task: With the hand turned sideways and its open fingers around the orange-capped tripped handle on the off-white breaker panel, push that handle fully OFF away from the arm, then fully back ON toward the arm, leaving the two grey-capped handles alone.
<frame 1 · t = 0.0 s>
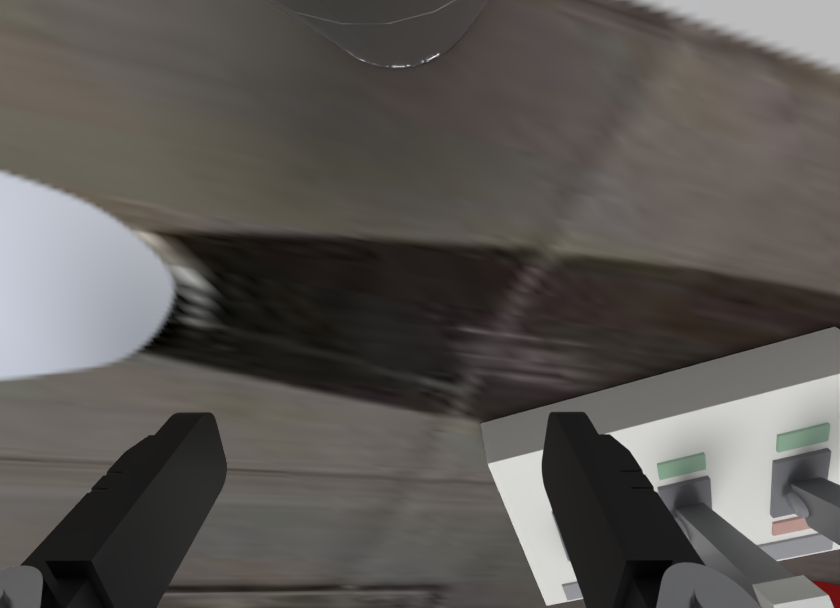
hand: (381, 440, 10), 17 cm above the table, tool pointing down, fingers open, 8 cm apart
panel: (657, 465, 35), on the table
breaker mid: (738, 565, 24), point 10 cm above the table, hinge at -34.0°
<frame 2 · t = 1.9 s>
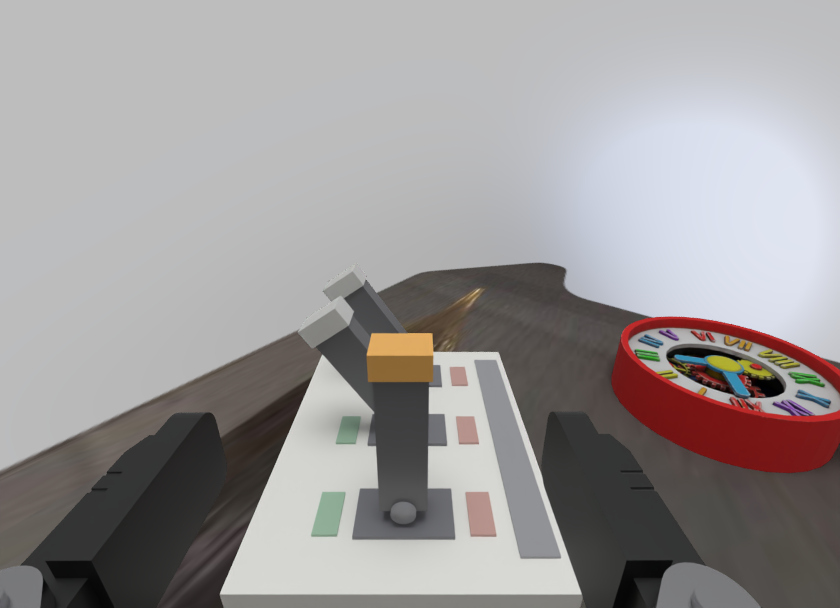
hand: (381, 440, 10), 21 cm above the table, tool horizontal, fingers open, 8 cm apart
panel: (408, 466, 35), on the table
toy clock: (709, 404, 44), on the table
breaker mid: (369, 371, 32), point 10 cm above the table, hinge at -34.0°
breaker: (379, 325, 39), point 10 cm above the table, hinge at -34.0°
breaker tripped: (402, 433, 24), point 11 cm above the table, hinge at 0.0°
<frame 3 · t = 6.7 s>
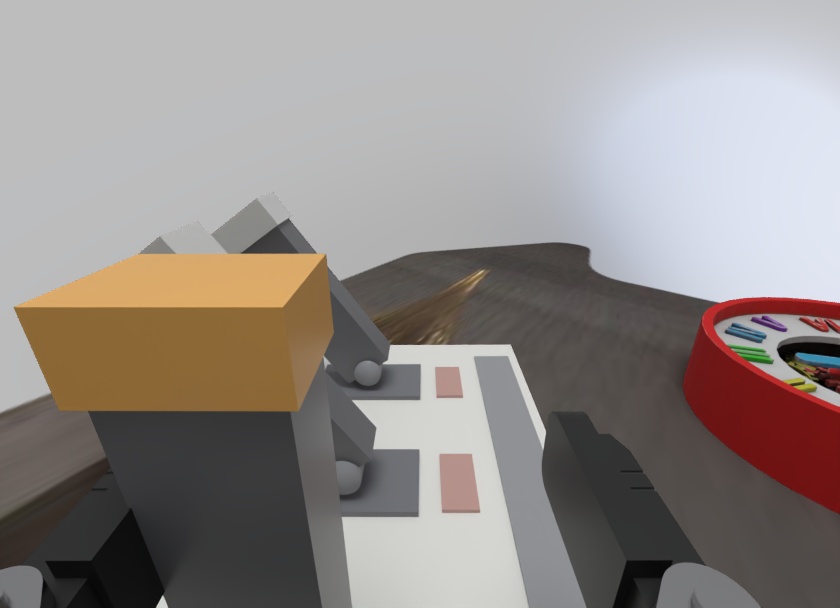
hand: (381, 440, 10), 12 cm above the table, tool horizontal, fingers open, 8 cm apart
panel: (356, 541, 20), on the table
breaker mid: (265, 374, 16), point 10 cm above the table, hinge at -34.0°
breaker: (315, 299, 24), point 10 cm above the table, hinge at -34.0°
breaker tripped: (261, 546, 9), point 11 cm above the table, hinge at 0.3°, touching gripper
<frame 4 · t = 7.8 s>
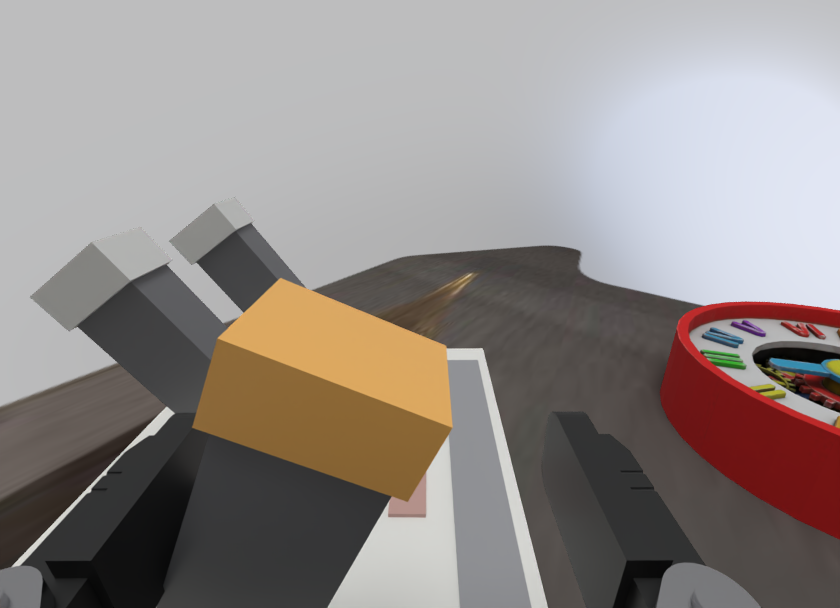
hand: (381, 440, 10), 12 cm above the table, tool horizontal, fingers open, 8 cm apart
panel: (311, 545, 20), on the table
toy clock: (827, 440, 27), on the table
breaker mid: (210, 378, 16), point 10 cm above the table, hinge at -34.0°
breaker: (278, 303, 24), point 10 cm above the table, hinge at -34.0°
breaker tripped: (257, 566, 9), point 10 cm above the table, hinge at 25.1°, touching gripper
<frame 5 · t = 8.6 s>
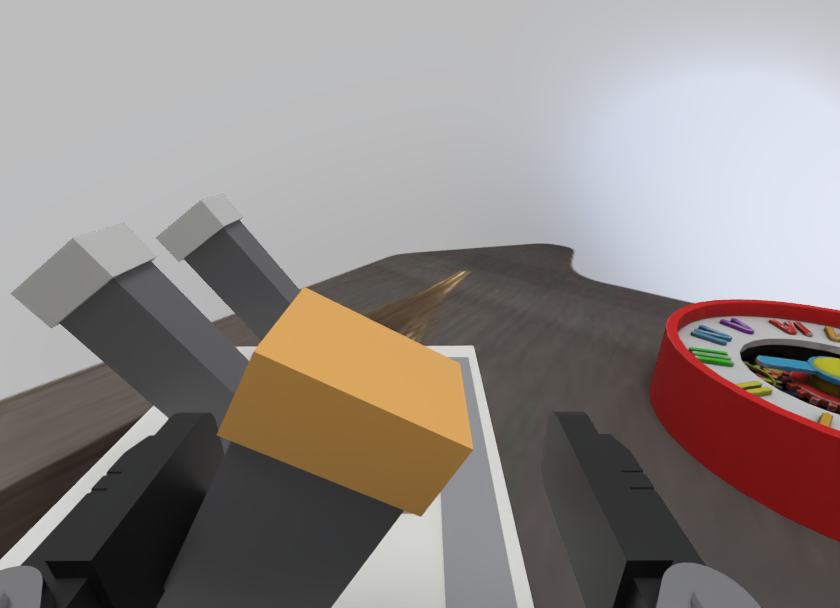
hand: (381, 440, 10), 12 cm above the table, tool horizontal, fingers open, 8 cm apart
panel: (300, 542, 20), on the table
toy clock: (813, 436, 27), on the table
breaker mid: (196, 375, 16), point 10 cm above the table, hinge at -34.0°
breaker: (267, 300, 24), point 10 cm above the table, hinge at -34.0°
breaker tripped: (254, 568, 9), point 10 cm above the table, hinge at 29.4°, touching gripper
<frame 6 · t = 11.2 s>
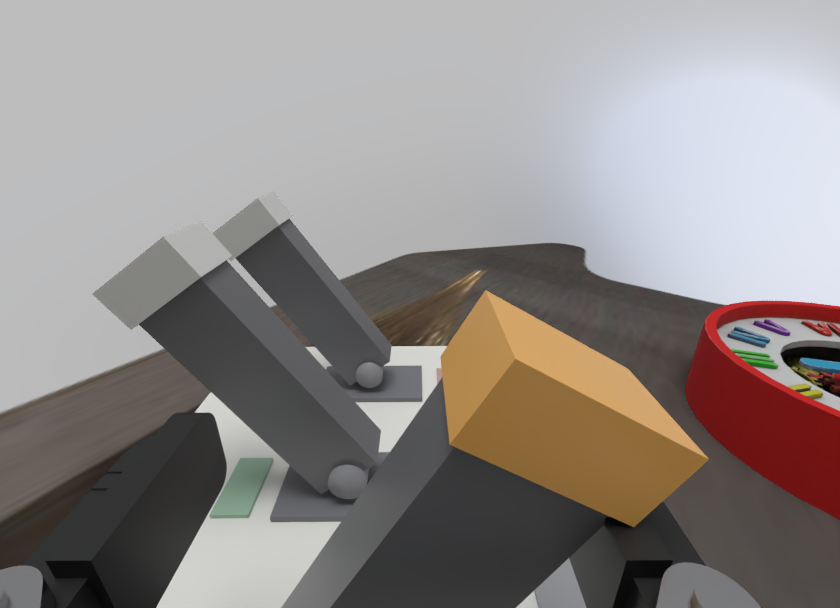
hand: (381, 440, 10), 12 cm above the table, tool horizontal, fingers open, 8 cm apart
panel: (359, 545, 20), on the table
breaker mid: (269, 377, 16), point 10 cm above the table, hinge at -34.0°
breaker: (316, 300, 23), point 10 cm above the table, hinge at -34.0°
breaker tripped: (403, 577, 9), point 10 cm above the table, hinge at 30.0°, touching gripper
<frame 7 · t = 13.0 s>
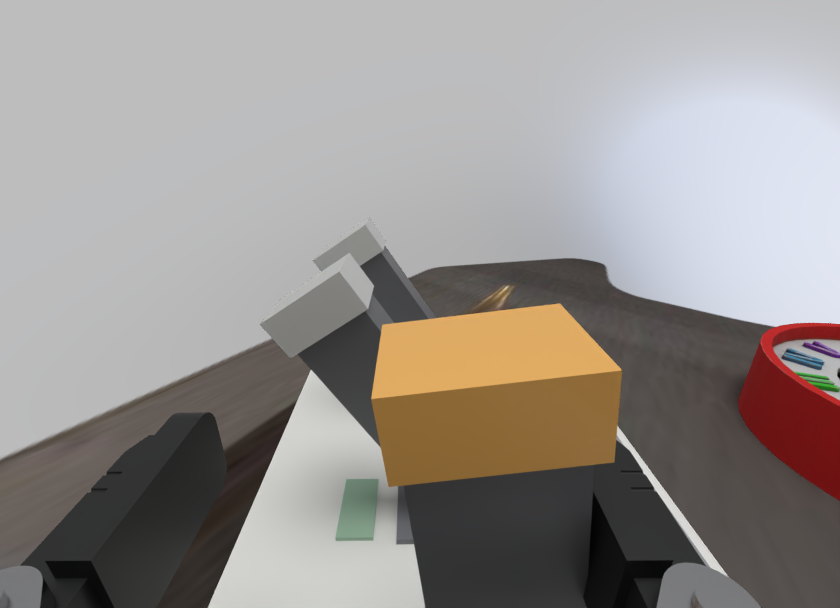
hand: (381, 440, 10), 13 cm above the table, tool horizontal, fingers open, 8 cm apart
panel: (461, 566, 20), on the table
breaker mid: (402, 402, 16), point 10 cm above the table, hinge at -34.0°
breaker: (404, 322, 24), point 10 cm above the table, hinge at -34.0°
breaker tripped: (497, 588, 9), point 11 cm above the table, hinge at -7.5°, touching gripper
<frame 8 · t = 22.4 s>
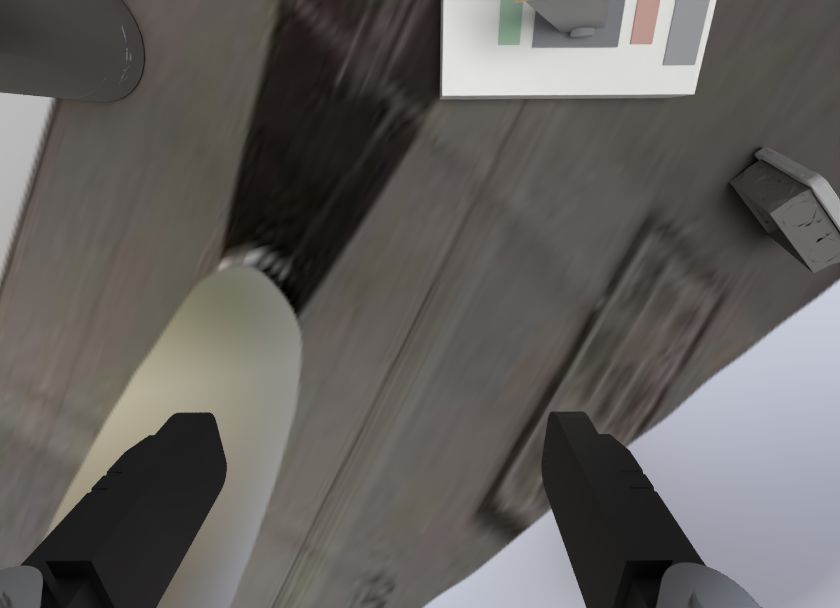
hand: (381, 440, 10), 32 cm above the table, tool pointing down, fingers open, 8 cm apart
electrical switch: (758, 202, 39), on the table
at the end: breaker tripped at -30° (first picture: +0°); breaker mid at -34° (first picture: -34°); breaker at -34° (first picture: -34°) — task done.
